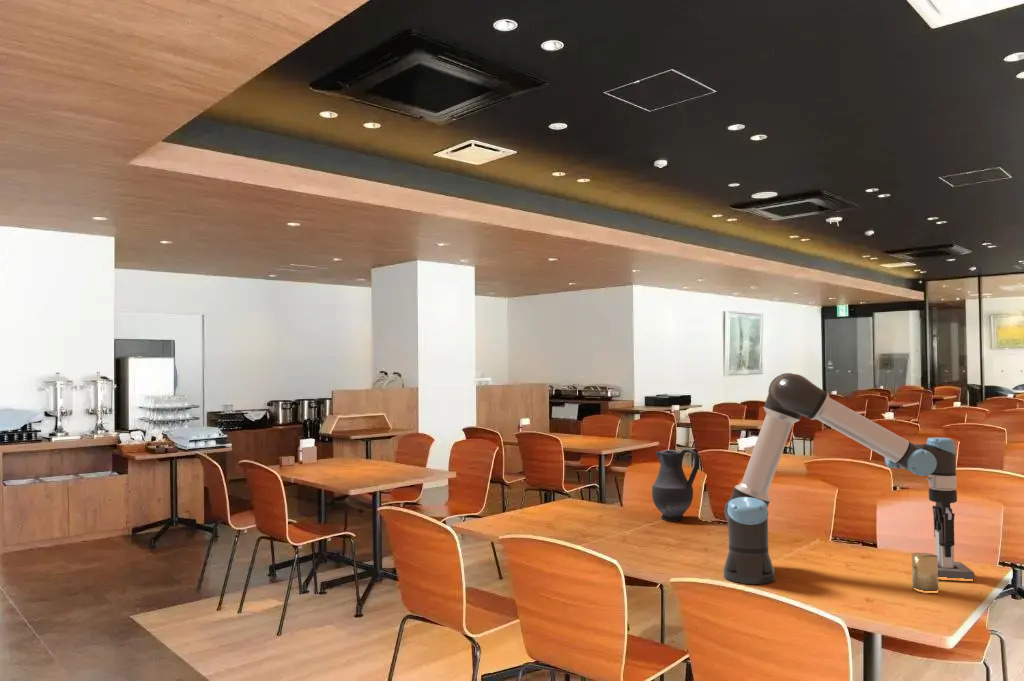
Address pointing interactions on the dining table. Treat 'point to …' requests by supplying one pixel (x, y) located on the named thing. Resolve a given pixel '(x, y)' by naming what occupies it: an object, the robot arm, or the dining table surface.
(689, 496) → the pitcher
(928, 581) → the round bit
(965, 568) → the bore block
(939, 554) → the square bit
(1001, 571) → the dining table surface
